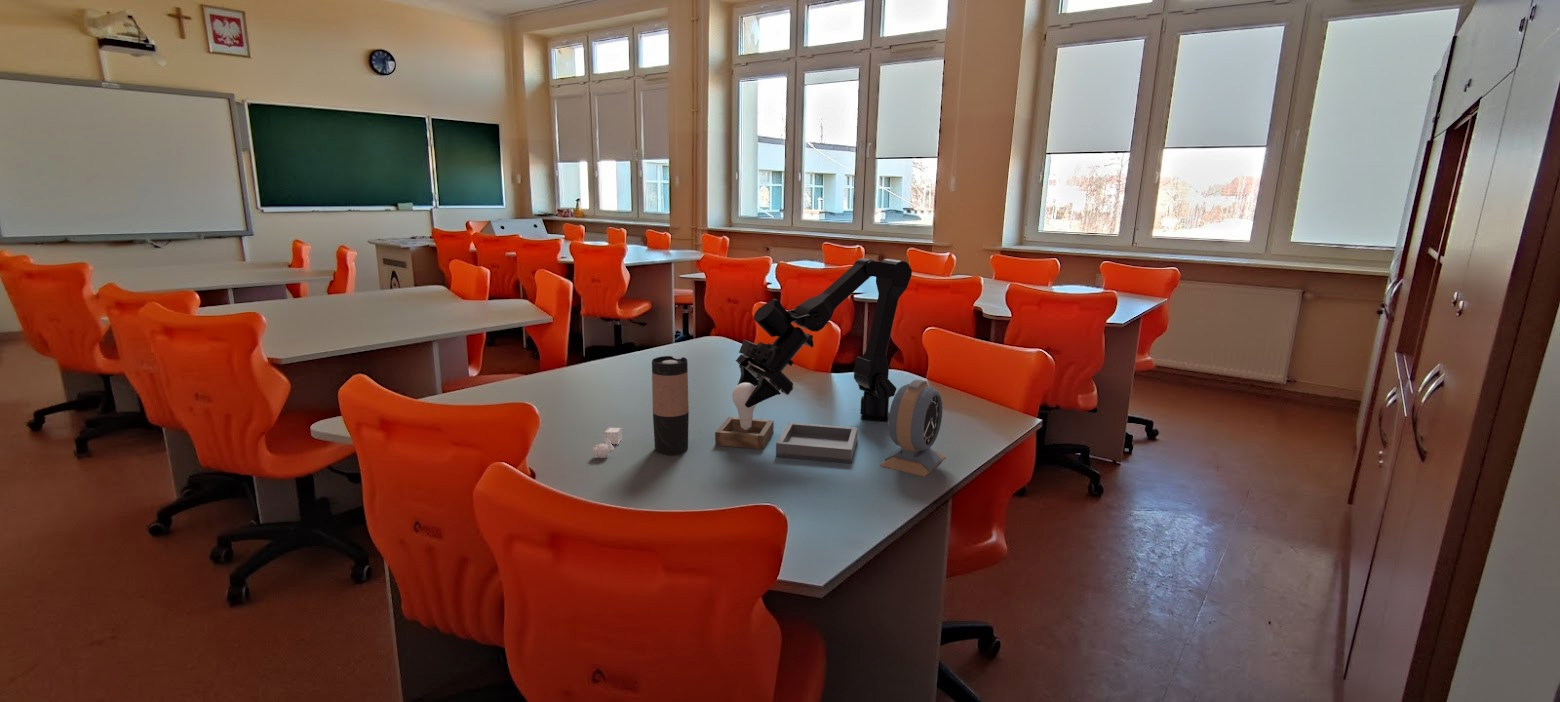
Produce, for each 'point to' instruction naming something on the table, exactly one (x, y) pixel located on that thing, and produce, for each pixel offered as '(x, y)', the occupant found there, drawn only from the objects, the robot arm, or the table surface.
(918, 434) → the alarm clock
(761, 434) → the socket block
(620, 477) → the table surface
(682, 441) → the travel mug
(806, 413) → the table surface
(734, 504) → the table surface
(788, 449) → the tray
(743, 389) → the lightbulb
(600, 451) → the game pieces
